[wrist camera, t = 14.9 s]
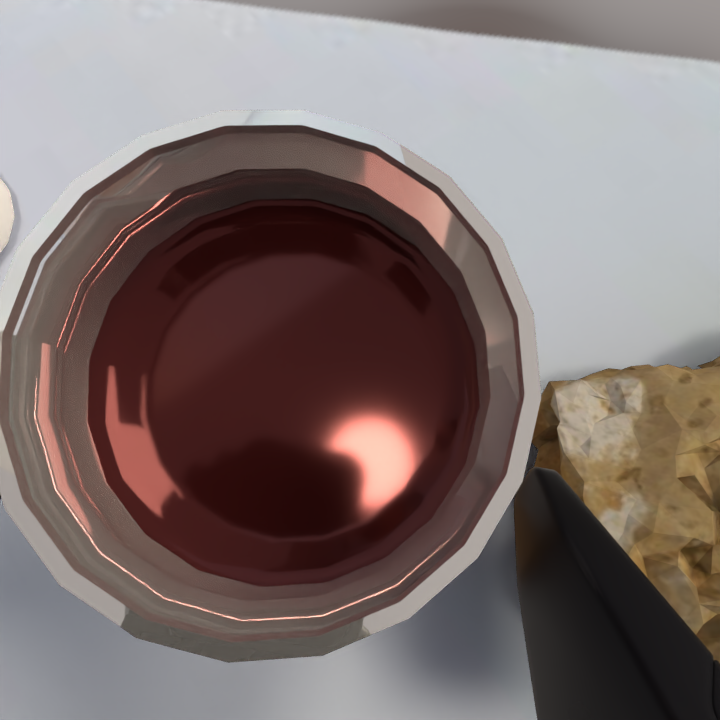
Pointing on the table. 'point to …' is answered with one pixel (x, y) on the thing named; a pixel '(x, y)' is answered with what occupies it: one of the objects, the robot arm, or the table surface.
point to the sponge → (647, 473)
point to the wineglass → (262, 385)
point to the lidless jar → (5, 215)
